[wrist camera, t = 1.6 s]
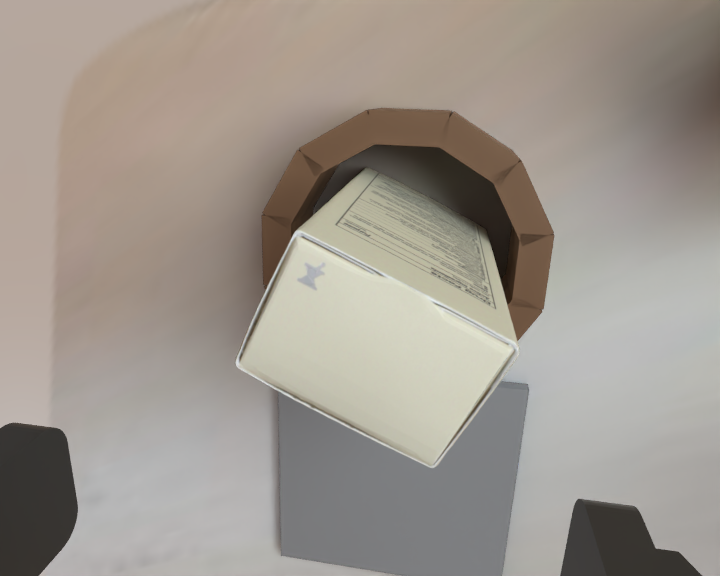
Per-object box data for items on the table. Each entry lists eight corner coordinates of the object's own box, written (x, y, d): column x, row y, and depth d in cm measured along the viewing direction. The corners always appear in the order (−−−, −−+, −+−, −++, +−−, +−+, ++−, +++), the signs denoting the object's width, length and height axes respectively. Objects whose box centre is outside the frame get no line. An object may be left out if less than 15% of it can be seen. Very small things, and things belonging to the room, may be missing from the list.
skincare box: (324, 247, 26) (216, 363, 15) (366, 162, 24) (282, 219, 13) (447, 313, 26) (434, 481, 15) (497, 232, 24) (526, 350, 13)
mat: (527, 384, 26) (529, 390, 26) (499, 582, 30) (499, 591, 30) (281, 357, 28) (277, 363, 28) (284, 547, 32) (281, 555, 32)
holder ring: (556, 114, 23) (571, 117, 19) (521, 366, 26) (529, 404, 23) (286, 104, 24) (258, 105, 21) (288, 341, 28) (265, 374, 25)
